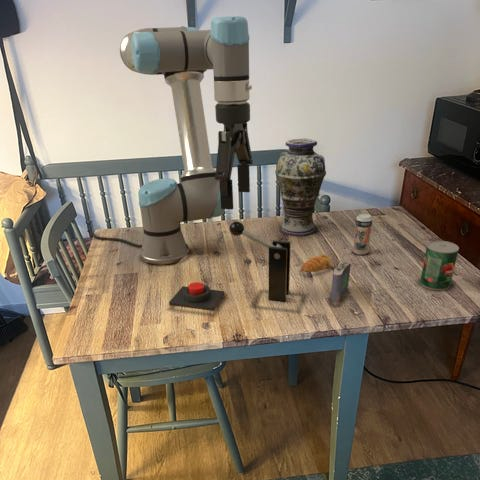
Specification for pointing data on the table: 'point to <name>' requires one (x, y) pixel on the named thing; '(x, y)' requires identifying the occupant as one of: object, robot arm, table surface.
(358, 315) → the table surface
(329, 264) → the pastry
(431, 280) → the canned tomato
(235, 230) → the switch lever
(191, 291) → the stop button
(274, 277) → the switch bracket
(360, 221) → the spice shaker
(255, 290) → the table surface
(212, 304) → the stop box
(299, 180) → the vase
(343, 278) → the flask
